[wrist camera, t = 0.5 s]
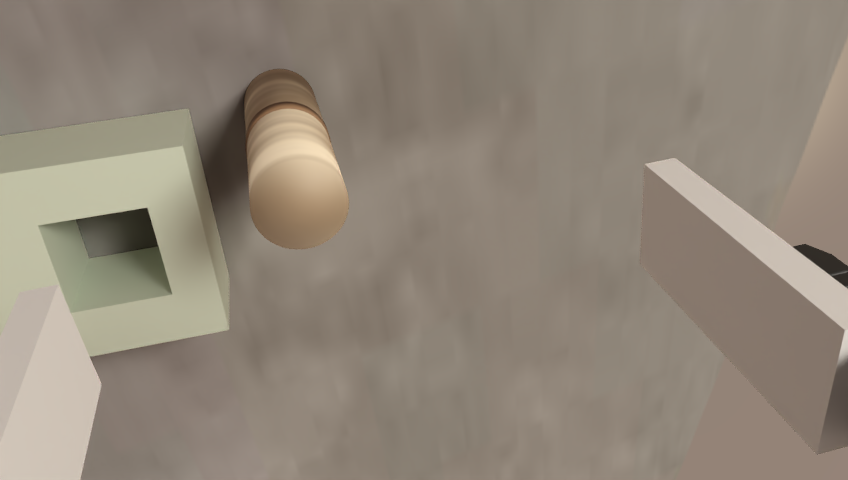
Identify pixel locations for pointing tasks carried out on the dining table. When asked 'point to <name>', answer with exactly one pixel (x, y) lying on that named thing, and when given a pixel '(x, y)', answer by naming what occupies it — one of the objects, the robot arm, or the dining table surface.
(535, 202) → the dining table surface
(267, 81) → the dowel
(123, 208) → the pale green holed block
